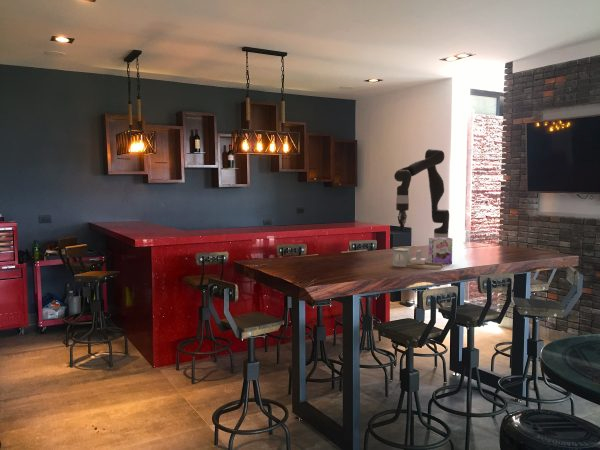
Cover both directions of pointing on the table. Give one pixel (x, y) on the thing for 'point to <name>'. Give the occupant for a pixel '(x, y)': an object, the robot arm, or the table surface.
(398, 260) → the gauge cabinet
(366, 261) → the table surface
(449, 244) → the candy box
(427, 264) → the rail board
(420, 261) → the carriage
